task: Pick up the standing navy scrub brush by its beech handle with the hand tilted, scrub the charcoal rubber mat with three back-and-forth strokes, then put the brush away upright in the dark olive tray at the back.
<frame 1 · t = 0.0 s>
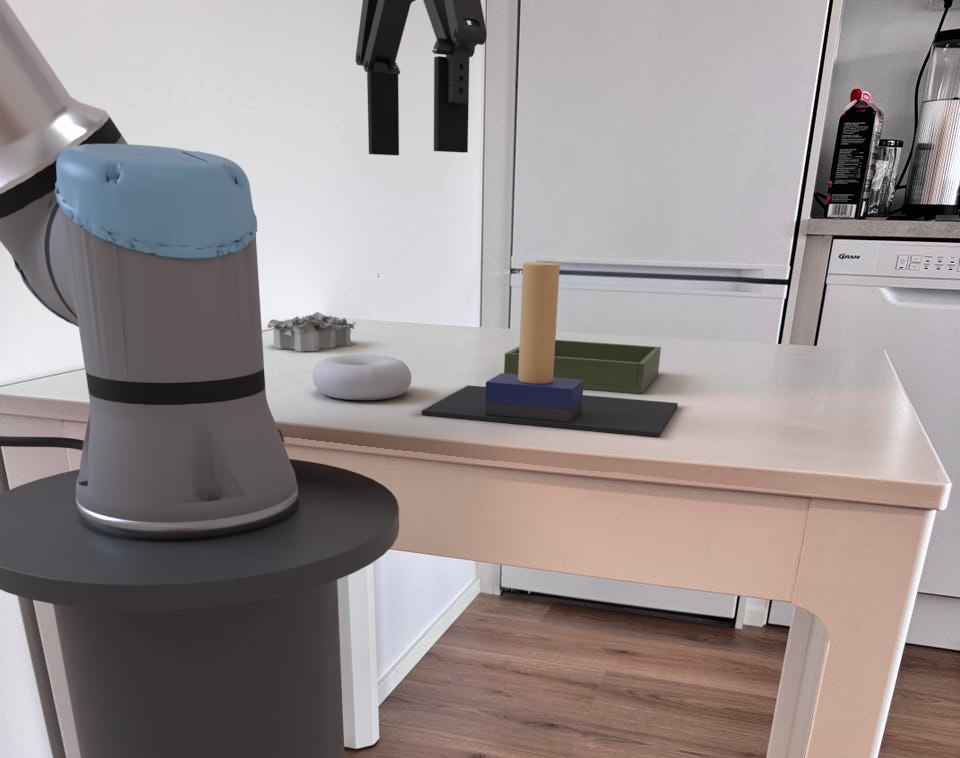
hand: (415, 154, 82), 22 cm above the table, tool pointing down, fingers open, 13 cm apart
egg carton: (312, 347, 125), on the table
donut: (362, 395, 96), on the table
tray: (583, 378, 108), on the table
brush: (533, 413, 88), resting on mat
mat: (553, 410, 91), on the table
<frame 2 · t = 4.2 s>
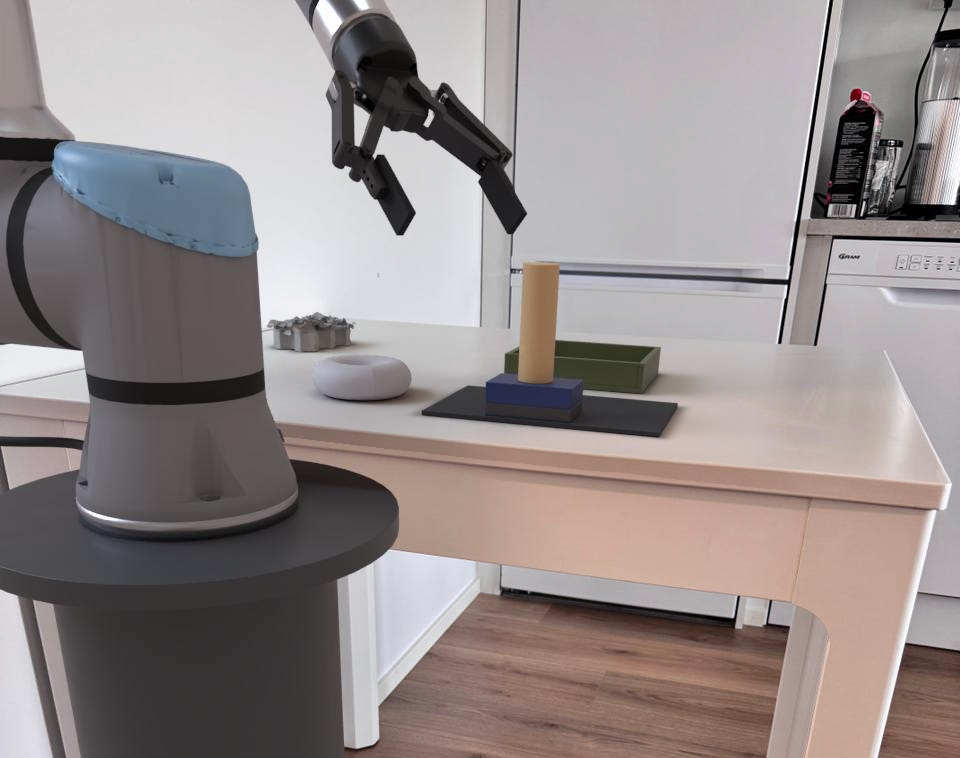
hand: (464, 224, 88), 16 cm above the table, tool tilted 45°, fingers open, 13 cm apart
nothing on the table moved.
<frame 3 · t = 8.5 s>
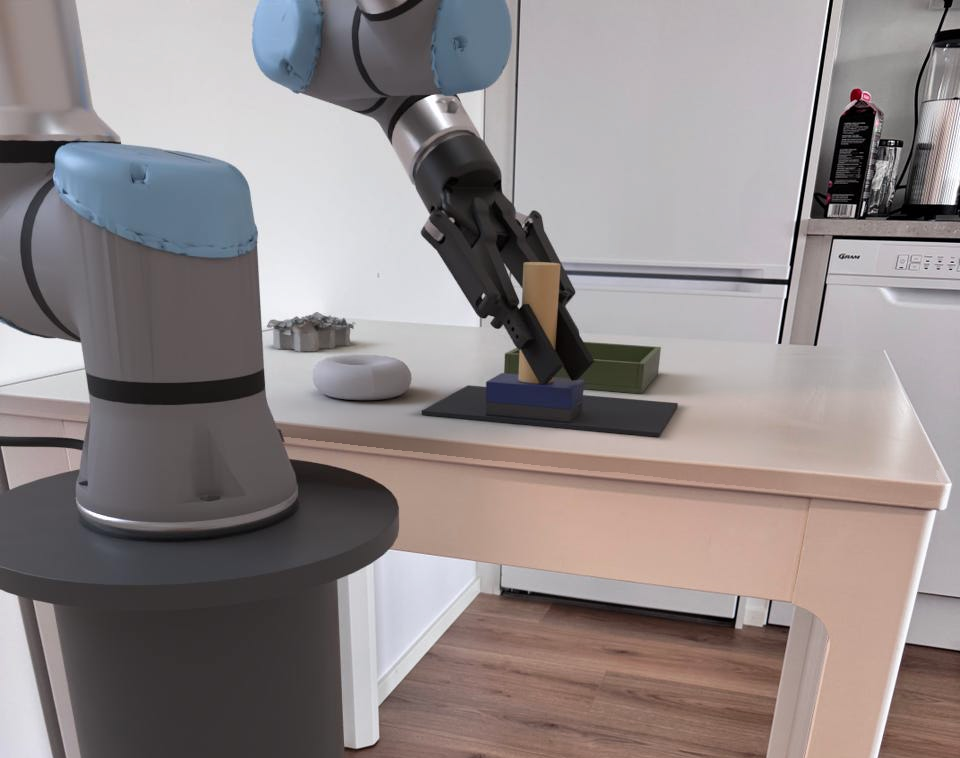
hand: (567, 372, 84), 5 cm above the table, tool tilted 45°, fingers closed on brush, 3 cm apart
brush: (534, 413, 88), resting on mat, touching gripper
everything else where it was.
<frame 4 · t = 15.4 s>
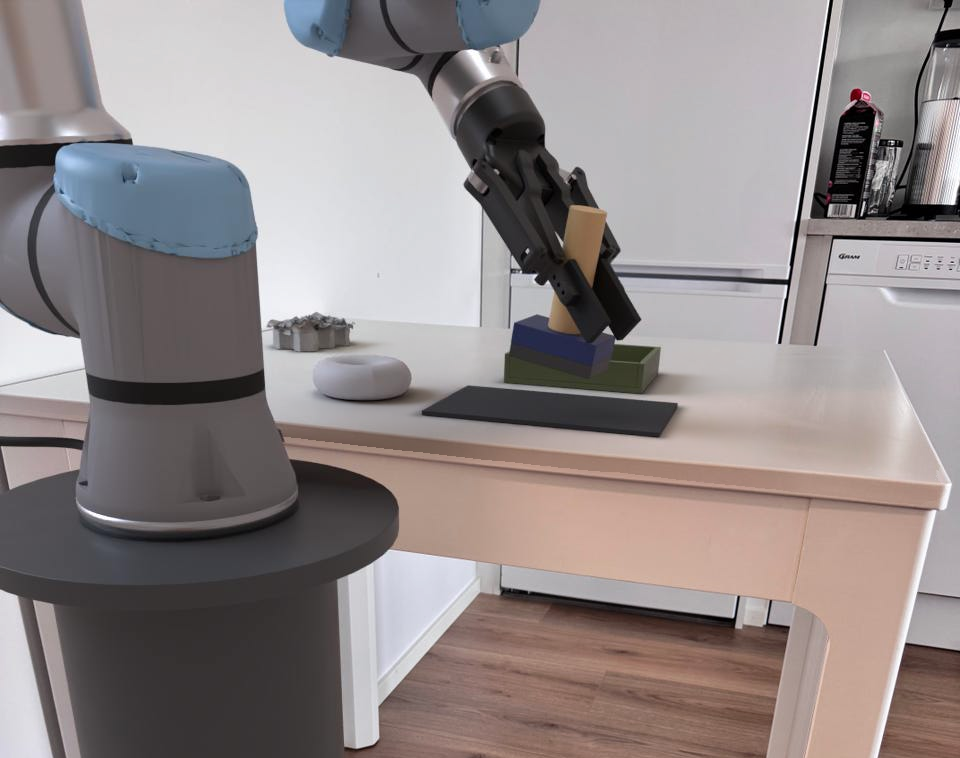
hand: (613, 331, 81), 8 cm above the table, tool tilted 45°, fingers closed on brush, 3 cm apart
brush: (559, 362, 86), point 5 cm above the table, tilted 10°, touching gripper
everything else where it was.
when the fingers open (5 cm above the table, at t = 22.4 s): brush stays where it is, resting on tray.
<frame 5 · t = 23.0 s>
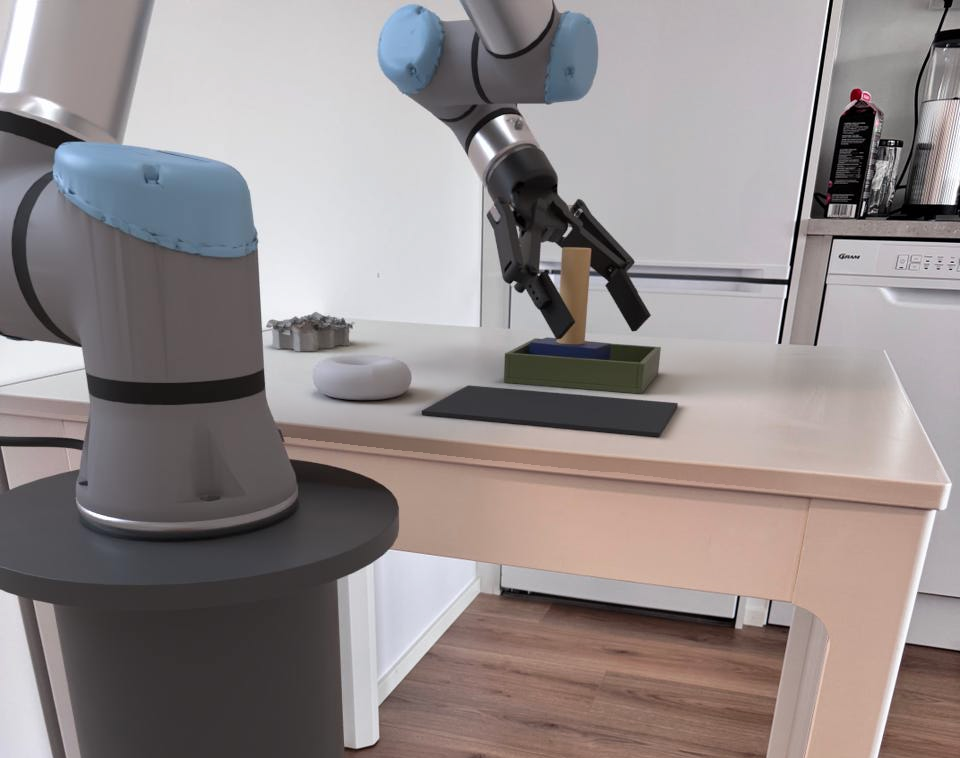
hand: (605, 327, 104), 6 cm above the table, tool tilted 45°, fingers open, 12 cm apart
brush: (568, 369, 109), point 1 cm above the table, touching tray
everything else where it was.
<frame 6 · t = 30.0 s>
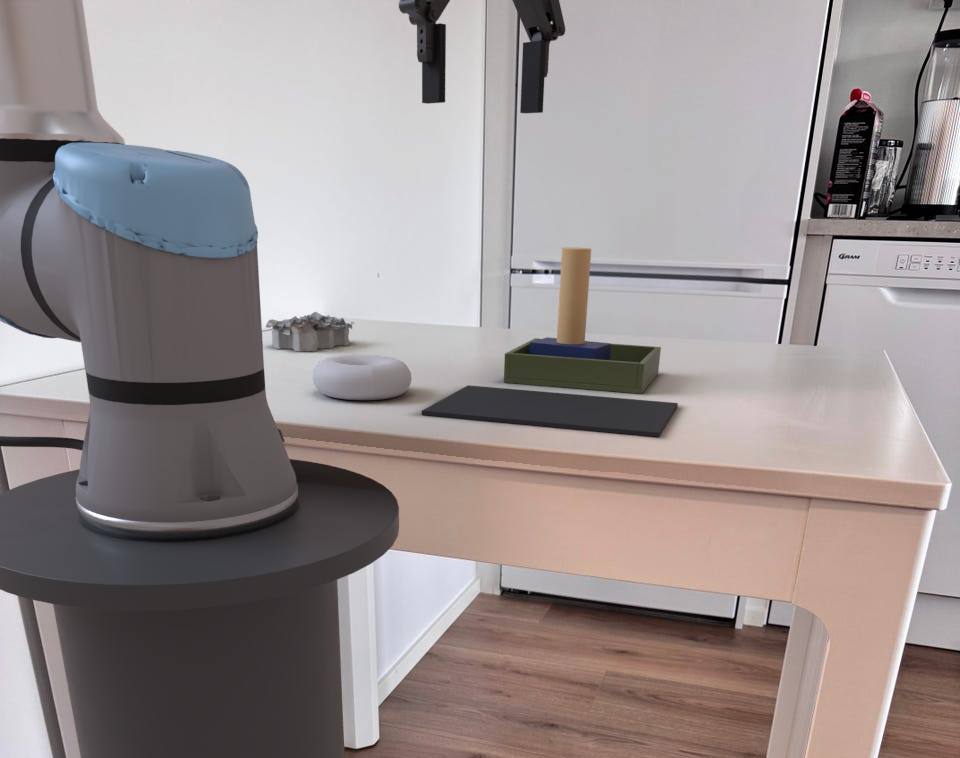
hand: (484, 108, 98), 27 cm above the table, tool pointing down, fingers open, 13 cm apart
nothing on the table moved.
at the end: brush inside the target area in the tray (2.4 cm from its centre), point 0.6 cm above the tray's base; brush tilted 0°; the gripper is holding nothing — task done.
